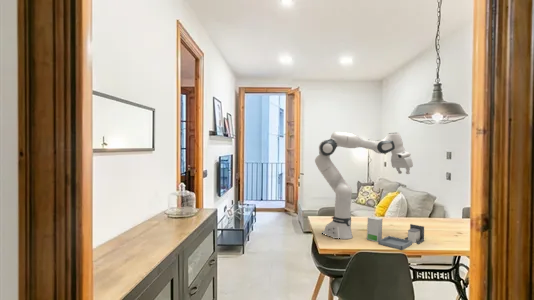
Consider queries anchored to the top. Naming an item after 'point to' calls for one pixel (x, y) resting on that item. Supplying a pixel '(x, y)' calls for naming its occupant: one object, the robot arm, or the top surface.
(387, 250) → the top surface
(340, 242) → the top surface
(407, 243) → the tray
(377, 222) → the skincare box
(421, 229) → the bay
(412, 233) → the caddy
